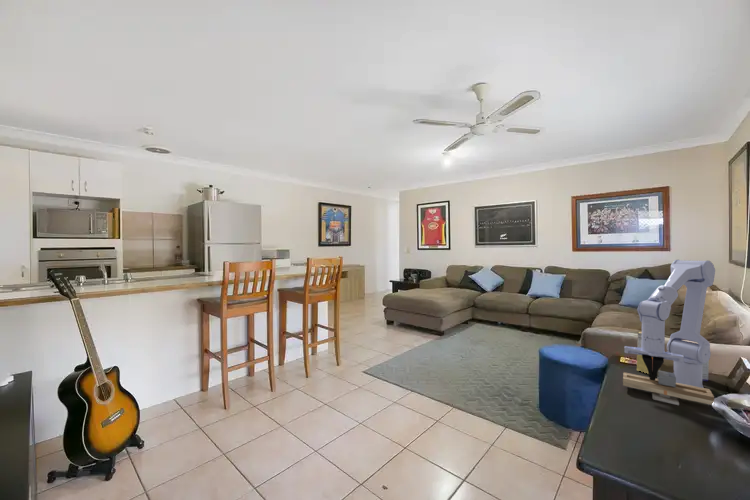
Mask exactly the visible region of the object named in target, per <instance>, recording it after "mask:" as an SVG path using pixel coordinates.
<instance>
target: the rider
mask: <svg viewBox="0 0 750 500" xmlns="http://www.w3.org/2000/svg"><path fill="white" fill-rule="evenodd" d="M656 377H657V378H656V379H658V384H661V385H666V386H671V387H676V377H675V374H674V372H670V371H665V370H661V369H660V370H658V372H657V376H656Z"/></svg>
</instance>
